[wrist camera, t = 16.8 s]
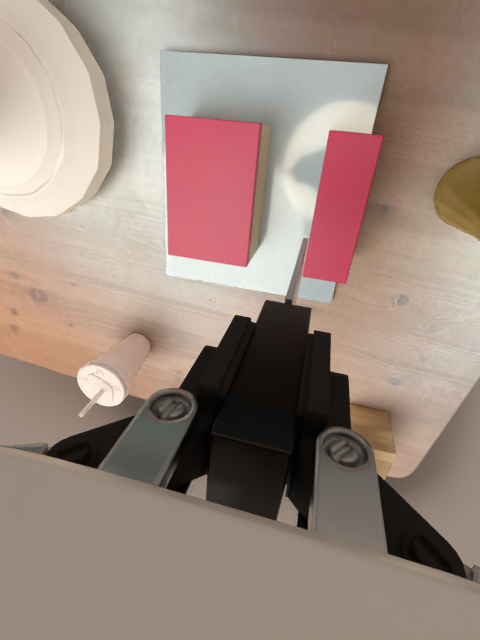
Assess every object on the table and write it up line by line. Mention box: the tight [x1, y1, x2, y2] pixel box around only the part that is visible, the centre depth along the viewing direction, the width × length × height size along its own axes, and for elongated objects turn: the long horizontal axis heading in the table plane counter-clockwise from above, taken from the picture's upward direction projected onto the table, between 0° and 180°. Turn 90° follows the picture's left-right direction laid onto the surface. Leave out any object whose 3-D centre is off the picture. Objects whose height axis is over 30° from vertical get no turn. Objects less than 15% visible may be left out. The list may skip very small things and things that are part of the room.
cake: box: [165, 114, 272, 267], centre depth 33 cm, size 8×12×6 cm, turn 175°
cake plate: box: [160, 50, 388, 304], centre depth 35 cm, size 20×22×1 cm
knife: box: [206, 238, 311, 521], centre depth 15 cm, size 2×3×16 cm, turn 175°
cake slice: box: [302, 130, 384, 284], centre depth 31 cm, size 4×12×6 cm, turn 175°
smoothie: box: [77, 333, 150, 417], centre depth 44 cm, size 6×6×14 cm
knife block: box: [350, 404, 396, 480], centre depth 44 cm, size 5×7×7 cm
